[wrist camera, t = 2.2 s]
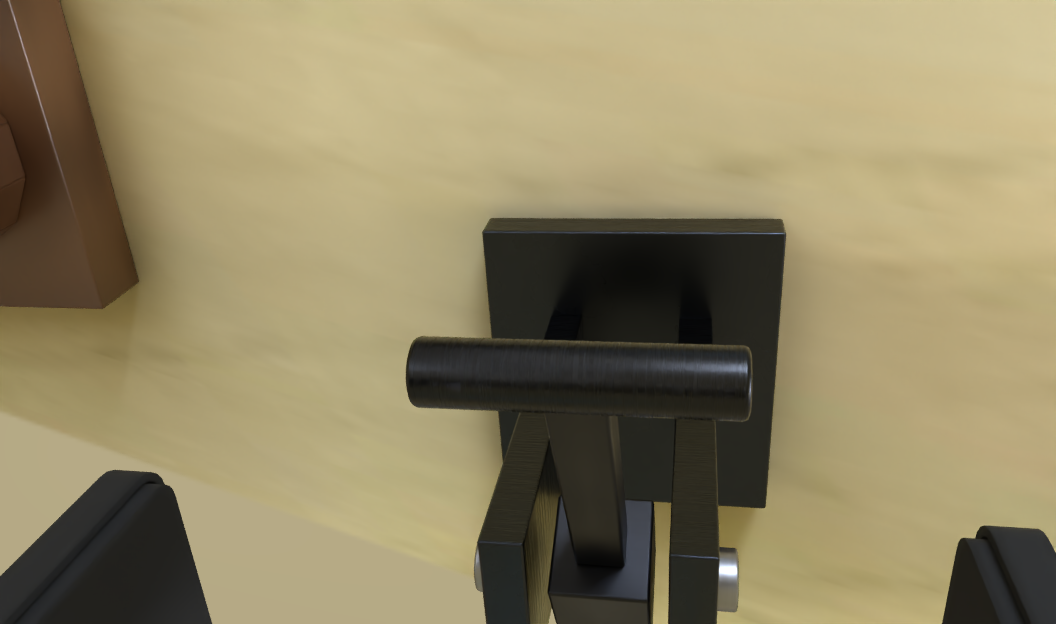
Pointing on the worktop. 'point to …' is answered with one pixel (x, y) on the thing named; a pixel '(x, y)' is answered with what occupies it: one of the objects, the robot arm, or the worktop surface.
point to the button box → (53, 173)
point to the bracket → (646, 443)
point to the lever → (588, 441)
